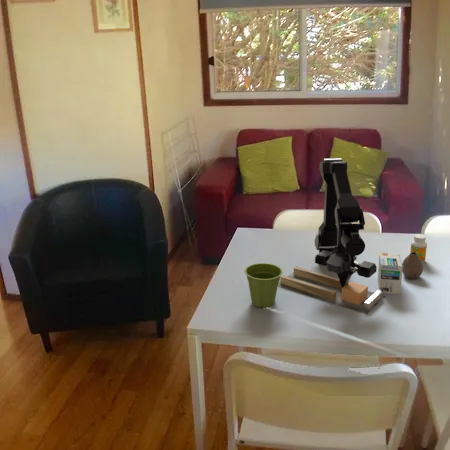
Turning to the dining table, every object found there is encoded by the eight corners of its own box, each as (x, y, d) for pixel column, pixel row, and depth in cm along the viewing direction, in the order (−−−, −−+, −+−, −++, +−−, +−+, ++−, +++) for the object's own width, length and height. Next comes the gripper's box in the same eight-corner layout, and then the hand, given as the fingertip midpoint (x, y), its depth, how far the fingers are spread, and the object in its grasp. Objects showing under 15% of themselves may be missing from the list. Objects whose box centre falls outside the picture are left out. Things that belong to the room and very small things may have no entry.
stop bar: (377, 296, 171) (377, 289, 170) (381, 298, 170) (382, 291, 169) (363, 309, 164) (364, 302, 163) (368, 311, 163) (368, 303, 162)
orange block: (350, 292, 174) (350, 281, 173) (367, 297, 170) (368, 286, 169) (341, 299, 170) (341, 288, 168) (358, 305, 166) (359, 293, 165)
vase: (423, 274, 187) (425, 251, 184) (420, 282, 181) (423, 258, 178) (402, 270, 190) (404, 248, 187) (399, 279, 184) (402, 255, 181)
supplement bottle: (408, 262, 196) (411, 237, 193) (410, 256, 201) (412, 232, 197) (424, 264, 194) (427, 239, 191) (425, 258, 199) (428, 234, 195)
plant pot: (271, 315, 163) (271, 282, 159) (238, 306, 169) (237, 274, 165) (288, 299, 172) (289, 267, 168) (256, 290, 178) (255, 260, 174)
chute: (296, 272, 191) (296, 263, 190) (385, 298, 171) (386, 289, 170) (274, 287, 180) (274, 278, 179) (366, 316, 161) (367, 307, 160)
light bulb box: (400, 297, 172) (403, 266, 168) (378, 295, 173) (381, 265, 170) (397, 282, 182) (400, 252, 178) (376, 280, 183) (379, 251, 179)
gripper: (306, 244, 166) (305, 289, 171) (363, 258, 155) (359, 306, 160) (324, 233, 174) (322, 276, 179) (379, 246, 163) (375, 292, 168)
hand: (343, 287), depth 172 cm, fingers closed
